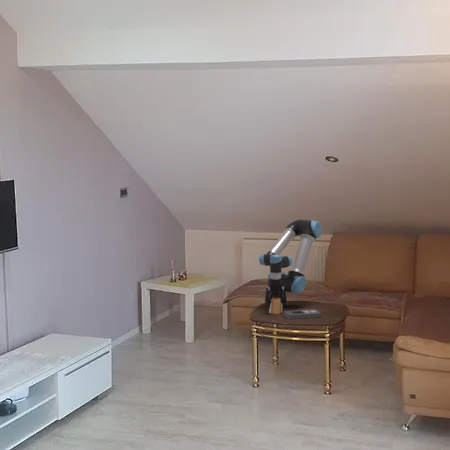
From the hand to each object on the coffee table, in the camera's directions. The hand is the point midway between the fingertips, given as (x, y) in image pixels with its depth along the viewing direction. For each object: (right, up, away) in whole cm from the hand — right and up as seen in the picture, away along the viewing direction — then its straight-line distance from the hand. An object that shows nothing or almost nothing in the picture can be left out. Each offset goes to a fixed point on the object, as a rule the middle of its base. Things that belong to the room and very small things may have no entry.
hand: (275, 312), depth 454 cm
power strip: (+16, -1, -8) cm, 18 cm away
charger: (0, 0, 0) cm, 0 cm away
